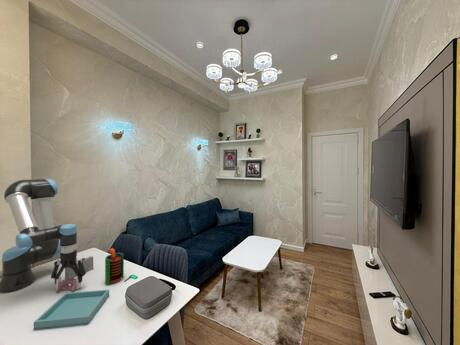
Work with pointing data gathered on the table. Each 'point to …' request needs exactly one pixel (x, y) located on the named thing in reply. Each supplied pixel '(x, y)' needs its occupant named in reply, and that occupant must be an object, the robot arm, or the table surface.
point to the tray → (72, 309)
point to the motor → (114, 267)
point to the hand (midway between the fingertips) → (68, 288)
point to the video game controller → (66, 286)
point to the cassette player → (87, 266)
